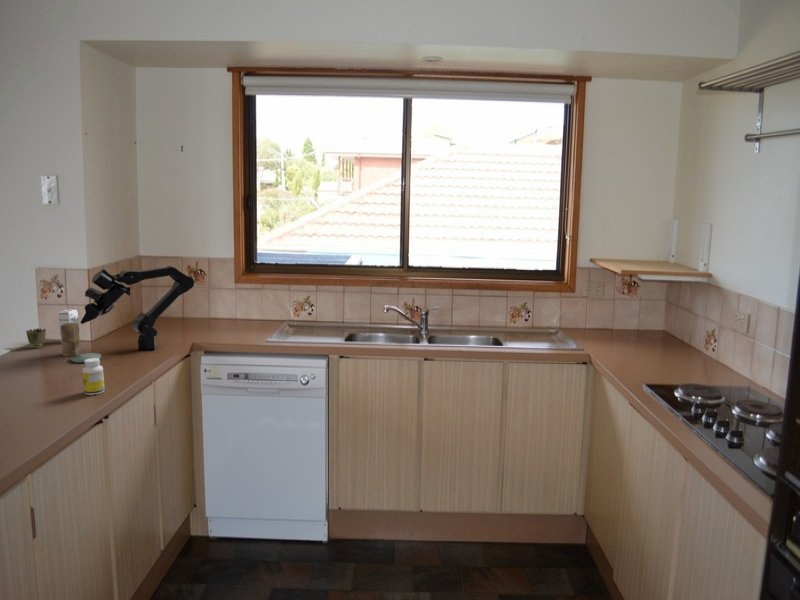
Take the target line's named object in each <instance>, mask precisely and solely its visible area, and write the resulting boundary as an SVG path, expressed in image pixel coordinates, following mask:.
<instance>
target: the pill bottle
mask: <svg viewBox="0 0 800 600" xmlns="http://www.w3.org/2000/svg"><path fill="white" fill-rule="evenodd" d="M100 363H101V359H98V358H90V359H86V360H85V362H84V365H85V366H84V367H83V368H82V381H83V382H82V383H83V393H84V394H85V395H87V396H88V395H89V396H94V395H95V394H96V395H100V394H102V393H104V392H105V390H106V389H105V378H104V377H105V375H104V368H103V366H102V365H100Z"/></svg>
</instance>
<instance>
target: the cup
mask: <svg viewBox="0 0 800 600" xmlns="http://www.w3.org/2000/svg"><path fill="white" fill-rule="evenodd" d="M46 330H47V329H46V328H43V329H42V328H38V327H37V328H36V329H35V328H33V329H32V328H31V329H28V330H26V331H25V333H26V337H27V340H28V343H29V344H30V345H32V348H33V349H35V348H37V349H41V348H42V347H43V344H44V343H45V341H46V334H47V333H46ZM40 347H41V348H40Z"/></svg>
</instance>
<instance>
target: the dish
mask: <svg viewBox="0 0 800 600" xmlns="http://www.w3.org/2000/svg"><path fill="white" fill-rule="evenodd" d="M90 358H98V359H100V360H101V359H102V354H100V353H97V352H88V353H87V352H86V353H80V354H78V355H75V356H70V359H71V362H73V363H81V364H82V362H83V363H85V360H86V359H90Z"/></svg>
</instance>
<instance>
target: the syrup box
mask: <svg viewBox="0 0 800 600" xmlns="http://www.w3.org/2000/svg"><path fill="white" fill-rule="evenodd" d="M57 315H58V316H57V317H58V323H59V325H58V326H59V336H60V343H61V344H62V336H61V325H63V324H65V323H78V330H79V342H80V341H81V334H80V324H79V313H78V309H72V308H71V309H69V310H68V309H65V310H62V311H58V312H57Z"/></svg>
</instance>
